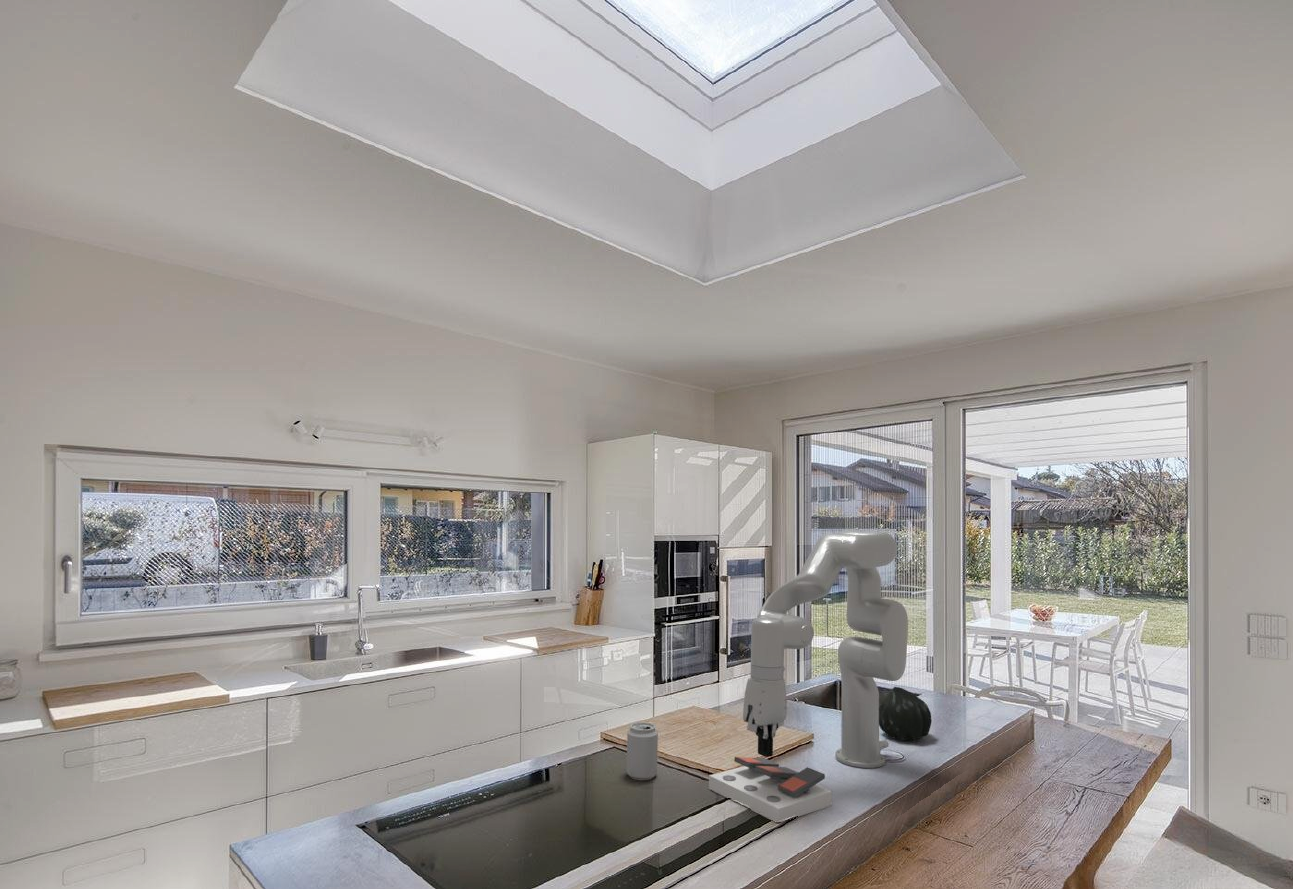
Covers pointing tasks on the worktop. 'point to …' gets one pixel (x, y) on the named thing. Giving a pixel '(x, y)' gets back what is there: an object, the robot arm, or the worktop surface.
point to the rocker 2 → (801, 782)
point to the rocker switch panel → (767, 794)
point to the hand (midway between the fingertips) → (765, 754)
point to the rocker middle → (776, 771)
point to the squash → (904, 715)
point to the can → (642, 751)
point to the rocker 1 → (755, 762)
